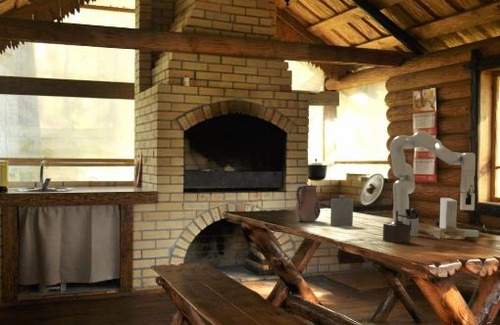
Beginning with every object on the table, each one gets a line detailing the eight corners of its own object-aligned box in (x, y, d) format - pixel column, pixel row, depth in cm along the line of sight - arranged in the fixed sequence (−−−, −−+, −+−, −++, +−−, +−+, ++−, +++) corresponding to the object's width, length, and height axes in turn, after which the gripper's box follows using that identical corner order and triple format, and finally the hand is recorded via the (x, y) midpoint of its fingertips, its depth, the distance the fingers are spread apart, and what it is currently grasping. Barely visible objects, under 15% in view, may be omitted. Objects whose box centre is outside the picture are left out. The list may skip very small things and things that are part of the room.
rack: (439, 238, 321) (440, 229, 321) (425, 232, 347) (426, 224, 347) (464, 239, 321) (464, 230, 321) (448, 233, 347) (448, 225, 347)
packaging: (456, 233, 348) (457, 201, 348) (445, 232, 349) (446, 200, 349) (449, 228, 378) (450, 198, 378) (439, 227, 379) (440, 197, 379)
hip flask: (331, 226, 366) (332, 195, 366) (328, 225, 370) (329, 195, 370) (353, 226, 372) (354, 195, 371) (350, 225, 375) (351, 195, 375)
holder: (458, 236, 333) (458, 230, 333) (453, 234, 340) (453, 229, 340) (479, 237, 333) (479, 231, 333) (474, 235, 340) (474, 229, 340)
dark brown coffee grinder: (396, 243, 295) (397, 209, 295) (382, 240, 305) (383, 207, 305) (418, 242, 303) (419, 208, 303) (403, 239, 312) (404, 206, 312)
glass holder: (421, 235, 332) (422, 210, 332) (408, 237, 323) (409, 210, 323) (408, 233, 339) (409, 208, 339) (395, 235, 329) (395, 209, 329)
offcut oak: (445, 238, 326) (445, 234, 326) (442, 237, 331) (442, 233, 331) (453, 238, 327) (454, 234, 326) (450, 237, 332) (450, 233, 332)
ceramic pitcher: (324, 221, 395) (325, 185, 395) (310, 223, 377) (311, 186, 377) (301, 219, 404) (302, 184, 404) (287, 221, 387) (288, 184, 386)
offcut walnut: (444, 234, 327) (444, 231, 327) (444, 233, 332) (444, 230, 332) (452, 234, 326) (452, 231, 326) (451, 233, 331) (451, 230, 331)
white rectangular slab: (461, 209, 335) (462, 192, 335) (460, 209, 338) (460, 192, 338) (474, 210, 335) (474, 193, 335) (472, 209, 338) (473, 193, 338)
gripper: (456, 173, 345) (456, 203, 345) (467, 173, 328) (466, 205, 328) (469, 173, 345) (468, 203, 345) (479, 174, 328) (479, 205, 328)
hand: (467, 204), depth 337 cm, fingers closed on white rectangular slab, 2 cm apart
